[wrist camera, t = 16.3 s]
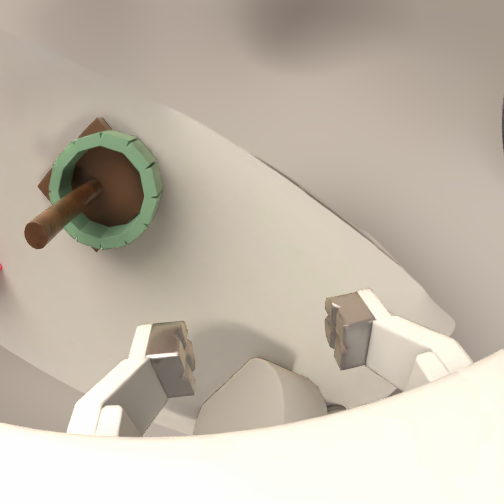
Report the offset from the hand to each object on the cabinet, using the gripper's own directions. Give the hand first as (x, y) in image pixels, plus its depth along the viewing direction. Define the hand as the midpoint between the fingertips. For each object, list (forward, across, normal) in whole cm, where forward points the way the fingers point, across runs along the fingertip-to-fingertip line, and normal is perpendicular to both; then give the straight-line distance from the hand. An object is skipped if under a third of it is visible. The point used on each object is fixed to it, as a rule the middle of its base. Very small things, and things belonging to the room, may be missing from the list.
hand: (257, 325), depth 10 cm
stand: (+23, +14, -2) cm, 27 cm away
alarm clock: (+23, +2, +32) cm, 40 cm away
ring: (+22, +12, -1) cm, 25 cm away
